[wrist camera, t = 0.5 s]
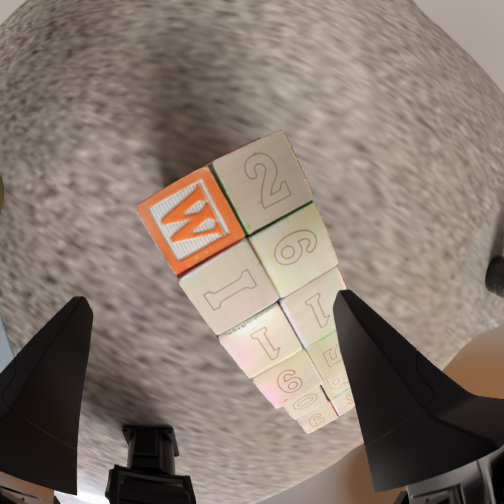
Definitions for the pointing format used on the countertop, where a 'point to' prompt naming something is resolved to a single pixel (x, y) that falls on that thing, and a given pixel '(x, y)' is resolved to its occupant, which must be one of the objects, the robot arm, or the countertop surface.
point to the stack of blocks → (259, 273)
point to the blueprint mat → (4, 347)
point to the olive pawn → (1, 194)
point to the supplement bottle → (496, 276)
